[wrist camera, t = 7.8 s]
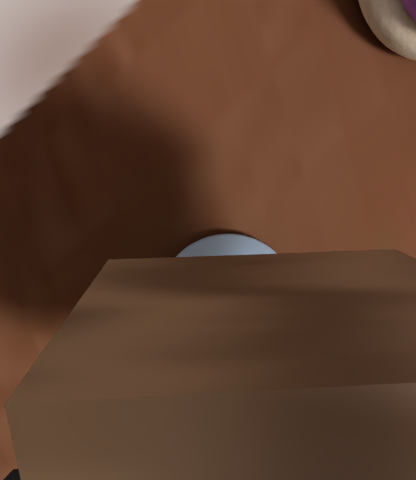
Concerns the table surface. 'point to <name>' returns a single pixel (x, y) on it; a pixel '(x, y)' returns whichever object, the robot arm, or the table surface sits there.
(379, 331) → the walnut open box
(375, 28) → the stacking toy
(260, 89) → the table surface
